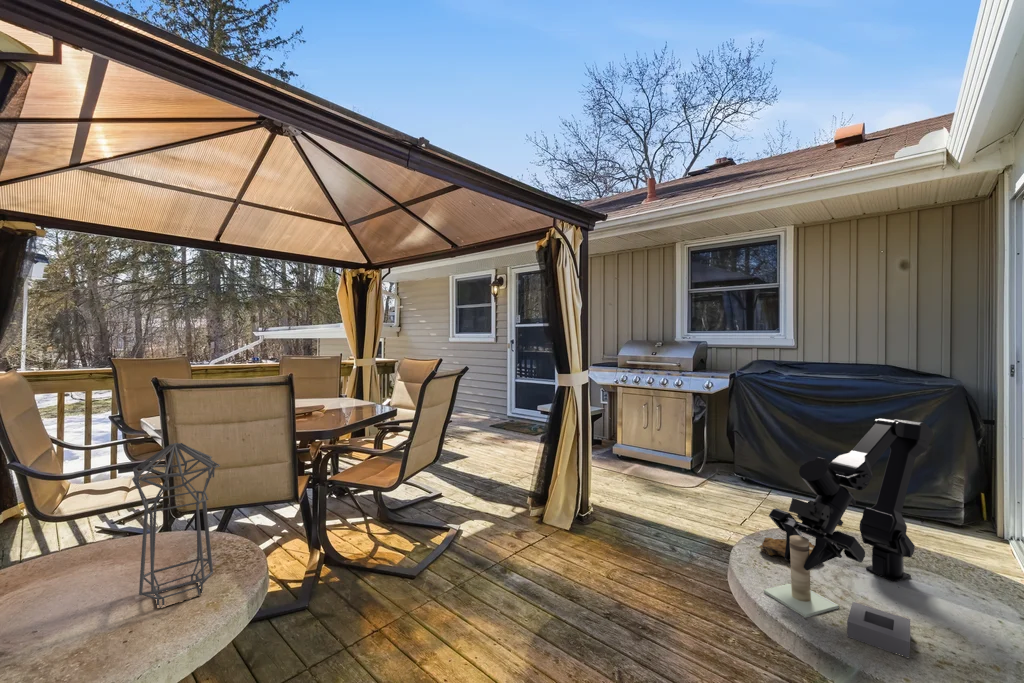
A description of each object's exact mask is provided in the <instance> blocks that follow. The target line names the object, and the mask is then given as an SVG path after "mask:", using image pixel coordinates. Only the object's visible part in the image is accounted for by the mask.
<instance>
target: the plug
mask: <svg viewBox="0 0 1024 683" xmlns="http://www.w3.org/2000/svg"><path fill="white" fill-rule="evenodd" d="M809 542H810V540H809V539H808V538H807V537H805V536H802V535H801V536H798V535H792V536H790V560H789V561H790V583H791V590H792V596H793V597H794V598H795V599H797V600H800V601H804V602H808V601H810V600H811V569H810V570H808V571H807V570H805V569H804V564H805V562H806V560H807V558H808V557H809Z"/></svg>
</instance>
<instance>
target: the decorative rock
mask: <svg viewBox="0 0 1024 683" xmlns="http://www.w3.org/2000/svg"><path fill="white" fill-rule="evenodd" d="M814 547H815V544H812V542H810V541H809V555H810V553H811V552H812V550H813V548H814ZM759 549H760V551H761V552H763V553H765V554H766V555H768V556H782V557H783V558H785V549H786V538H784V539H783V538H772V537H765V538H764V540H763V541H762V544H761V545H759Z"/></svg>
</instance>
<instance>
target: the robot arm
mask: <svg viewBox="0 0 1024 683" xmlns="http://www.w3.org/2000/svg"><path fill="white" fill-rule="evenodd" d="M933 437H934V433H933V429H932V428H931V427H929V425H928V424H927V423H925V422H920V421H914V420H907V419H899V418H895V419H888V418H875V420H874V421H873V424H872V427H871V428H870V429H869V430H868V431H867V432H866V433H865V435H864V436H863V437H861V439H860V441H859V442H858V443H857V444H856V445H855V446H854V447H853V449H851V450H850V451H848V452H847V453H843V454H839V455H838V456H836V458H834V459H832V461H831V462H830V463H829V462H828V460H827V458H823V457H819V456H816V458H815V459H814V460H810V461H807V462H805V463H804V464H802V465H800V467H799V470H798V473H799V476H800V478H801V479H802V480H803V481H804V482H805V484H806V485H807V486H808V488H810V490H811V491H812V492H813V493H814V494H815V495H817V496H816V497H815V500H808V501H807V502H806V501H803V500H801V499H797V498H794V497H792V498H791V501H790V505H789V509H788V512H787V511H786V510H785V511H784V510H782V509H780V508H772V509H771V511H770V512H769V514H768V517H769V518H770V519H771V520H772V522H773V523H774V524H775V525H776V526H777V528H779V530H781V531H783V532H785V535H786V536H785V537H786V538H785V539H786V549H785V557H784V559H785V561H786V562H789V561H790V536H792V535H798V536H802V534H805V535H808V536H811V537H812V538H815V540H814V541H815V542H814V545H815V547H814V548H813V550H812V552H811V553H810V555H809V557H808V558H807V560H806V562H805V564H804V569H805V570H807V571H808V570H810V571H811V569H813V568H815V567H817V566H819V565H822V564H823V563H825V562H827V561H830V560H833V559H835V558H839V559H841V558H842V557H843V556H842V552H843V553H844V556H845V557H846V558H848V559H850V560H853V561H854V562H856V563H857V562H858V563H860V564H861V563H863V561H864V560H865V557H866V550H865V549H864V547H863V546H862V544H860V543H859V541H858V540H857V539H856V537H854V536H852V535H850V534H848V533H845V532H841V531H839V530H836V531H835V529H836V528H837V526H840V527H842V526H843V524H844V522H843V520H842V517H843V516H844V514H845V512H846V510H847V509H848V506H849V505H852V506H856V505H857V503H856V502H857V501H856V499H855V497H854V492H850V491H849V489H851V490H856V491H864V490H865V489H866V488H867V487H868V486H869V485H870V482H871V480H872V479H873V477H874V476H873V470H872V468H874V466H875V464H876V463H877V461H878V460H879V459H880V458H881V457H882V456H883V455H884V453H885V452H886V451H887V449H888V448H889V449H890V451H889V456H888V459H887V462H886V465H885V466H886V467H885V470H884V472H883V473H884V475H883V478H882V482H881V485H880V489H879V493H878V496H877V499H876V503H875V504H874V505H873V506H872V507H865V508H864V509H863V512H862V517H861V519H860V521H859V525H858V526H859V532H860V535H861V540H862V542H863V544H865V545H866V544H867V545H869V546H872V548H871V549H872V551H871V552H872V554H871V563H872V564H871V565H869V566H866V567H865V570H866V571H869V572H871V573H873V574H876V575H878V576H880V577H882V578H885V579H887V580H888V581H891V582H899V581H902V580H906V579H909V578H912V575H911V574H909V573H907V572H904V571H905V570H904V568H905V566H904V557H905V558H912V557H913V556H912V555H914V552H915V547H916V545H915V544H914V542H912V540H911V538H909V536H908V535H907V530H908V526H907V524H906V522H905V519H904V517H903V514H902V511H903V508H904V504H905V501H906V496H907V492H908V489H909V484H910V481H911V478H912V473H913V470H914V469H913V468H914V466H915V461H916V459H917V458H918V457H919V456H920V455H921V454H923V453H925V452H926V451H927V450H928V447H929V446H930V445H929V444H930V443H931V442H932V440H933ZM847 488H849V489H847ZM791 513H794V514H796V518H797V519H798V520H796V518H794V516H793V515H792V514H791ZM799 520H800V521H801V522H799Z"/></svg>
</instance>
